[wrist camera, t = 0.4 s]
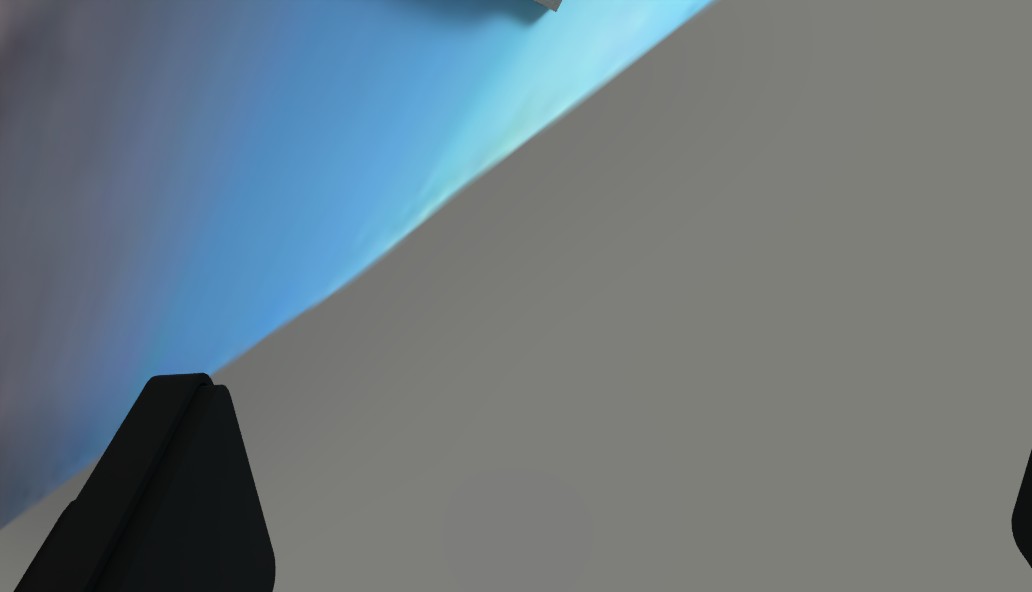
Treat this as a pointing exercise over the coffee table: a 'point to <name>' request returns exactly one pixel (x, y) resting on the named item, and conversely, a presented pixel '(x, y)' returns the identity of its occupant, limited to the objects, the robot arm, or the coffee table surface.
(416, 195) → the coffee table surface
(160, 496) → the robot arm
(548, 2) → the button board
